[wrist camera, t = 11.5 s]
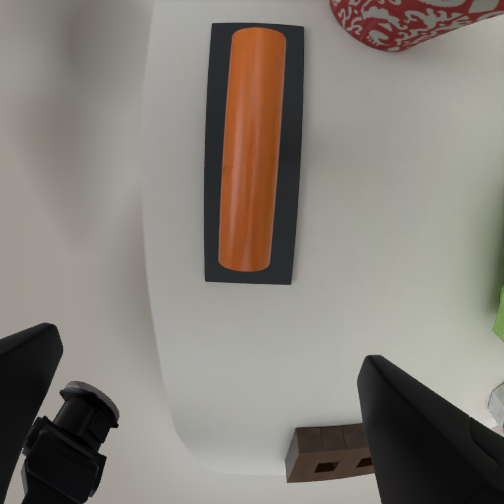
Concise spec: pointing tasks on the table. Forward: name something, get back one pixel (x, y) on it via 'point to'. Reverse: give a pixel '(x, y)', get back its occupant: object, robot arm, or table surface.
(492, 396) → the ink box
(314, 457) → the tool rack
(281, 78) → the t handle
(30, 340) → the robot arm
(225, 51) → the mat
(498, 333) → the light green square pot
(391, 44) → the mug
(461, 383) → the table surface
